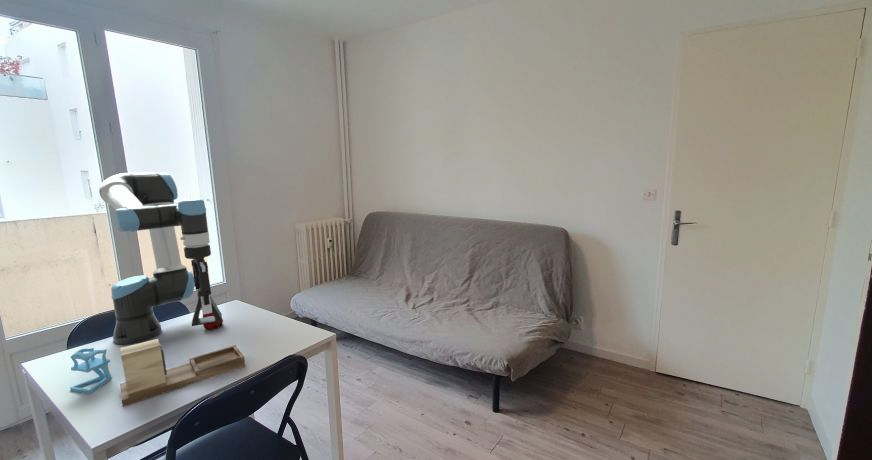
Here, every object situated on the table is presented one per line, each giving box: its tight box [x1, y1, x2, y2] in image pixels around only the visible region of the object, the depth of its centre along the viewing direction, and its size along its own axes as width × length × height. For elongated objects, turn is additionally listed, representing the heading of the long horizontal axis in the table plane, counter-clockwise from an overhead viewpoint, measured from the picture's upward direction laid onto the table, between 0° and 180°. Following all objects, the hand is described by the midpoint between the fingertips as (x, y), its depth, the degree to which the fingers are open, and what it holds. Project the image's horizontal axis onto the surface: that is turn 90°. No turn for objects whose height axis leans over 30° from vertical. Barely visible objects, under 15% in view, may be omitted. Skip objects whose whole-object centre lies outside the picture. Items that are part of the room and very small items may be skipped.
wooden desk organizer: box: [119, 344, 246, 408], centre depth 121 cm, size 11×32×4 cm, turn 131°
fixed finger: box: [119, 338, 167, 394], centre depth 114 cm, size 6×10×12 cm, turn 131°
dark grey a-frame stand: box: [191, 287, 223, 327], centre depth 132 cm, size 9×6×12 cm, turn 119°
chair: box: [69, 347, 113, 394], centre depth 117 cm, size 8×8×12 cm
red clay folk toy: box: [202, 313, 224, 331], centre depth 157 cm, size 8×7×15 cm
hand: (205, 310), depth 132 cm, fingers closed on dark grey a-frame stand, 6 cm apart
